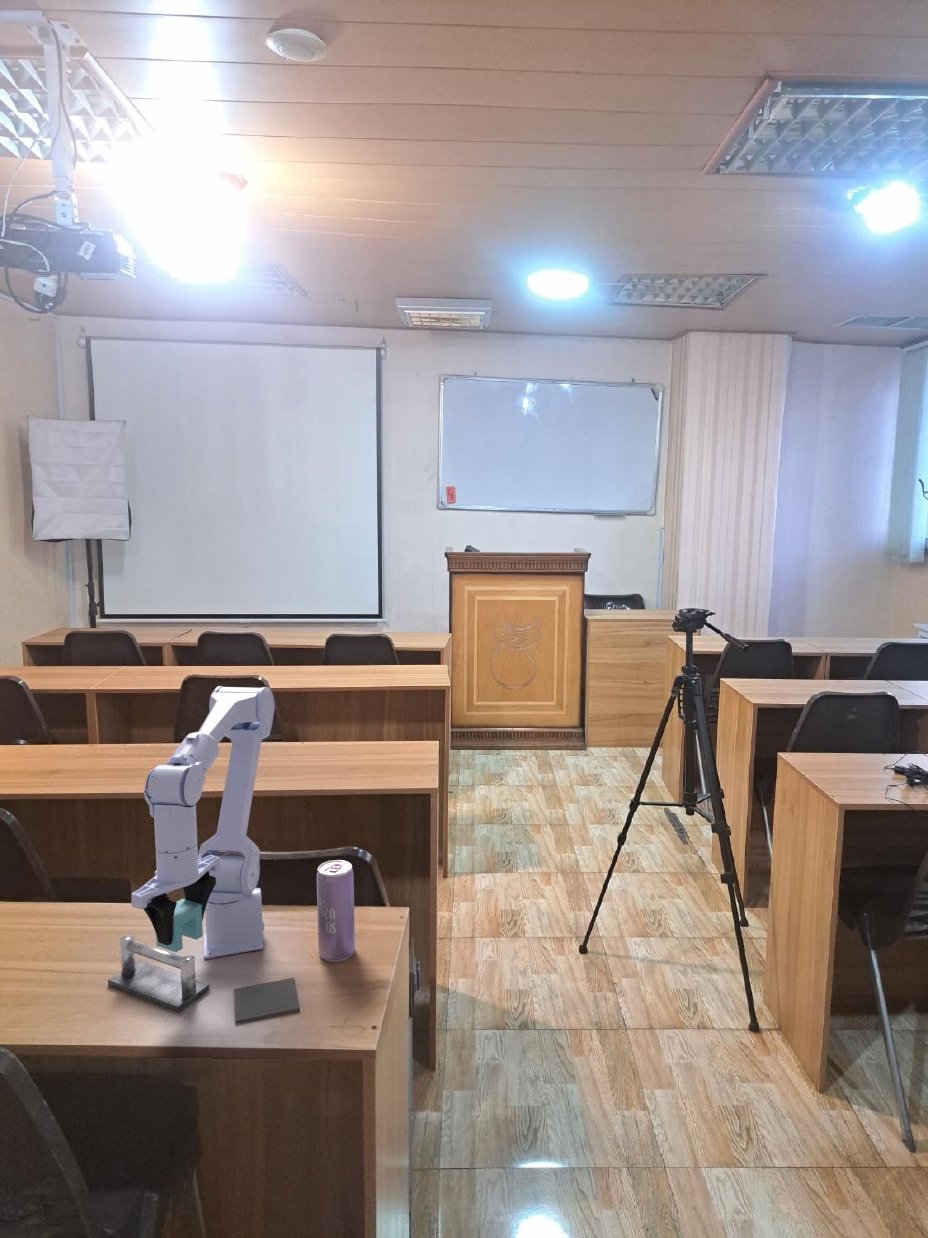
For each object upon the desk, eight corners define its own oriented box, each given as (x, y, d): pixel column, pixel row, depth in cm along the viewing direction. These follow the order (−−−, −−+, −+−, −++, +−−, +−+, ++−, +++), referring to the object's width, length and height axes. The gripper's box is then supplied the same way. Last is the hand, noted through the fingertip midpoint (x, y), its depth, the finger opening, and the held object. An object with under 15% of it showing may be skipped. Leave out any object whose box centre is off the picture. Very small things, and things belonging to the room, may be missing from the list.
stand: (140, 966, 119) (138, 927, 119) (209, 990, 113) (207, 950, 112) (108, 986, 114) (105, 946, 113) (178, 1013, 107) (176, 971, 107)
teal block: (183, 930, 113) (182, 898, 112) (202, 936, 111) (201, 904, 110) (156, 945, 108) (155, 913, 108) (176, 952, 106) (174, 919, 106)
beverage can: (361, 947, 125) (359, 862, 123) (344, 966, 119) (342, 877, 117) (329, 941, 126) (327, 857, 125) (311, 960, 121) (309, 872, 119)
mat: (294, 980, 115) (294, 977, 115) (299, 1011, 108) (299, 1008, 108) (234, 992, 112) (233, 989, 112) (235, 1024, 105) (235, 1021, 105)
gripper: (195, 824, 116) (199, 906, 117) (114, 859, 103) (119, 951, 105) (228, 832, 113) (232, 916, 114) (149, 869, 100) (154, 963, 101)
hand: (180, 934), depth 109 cm, fingers closed on teal block, 5 cm apart
